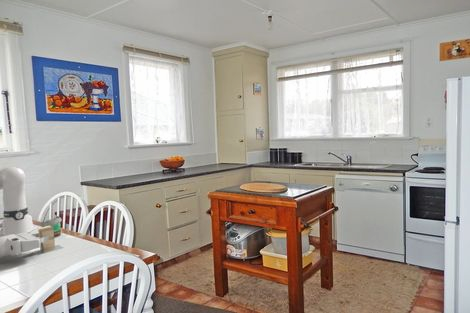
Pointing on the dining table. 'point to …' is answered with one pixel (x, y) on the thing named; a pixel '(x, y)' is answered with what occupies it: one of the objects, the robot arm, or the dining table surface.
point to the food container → (53, 225)
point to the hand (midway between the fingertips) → (44, 236)
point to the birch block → (50, 242)
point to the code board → (45, 252)
